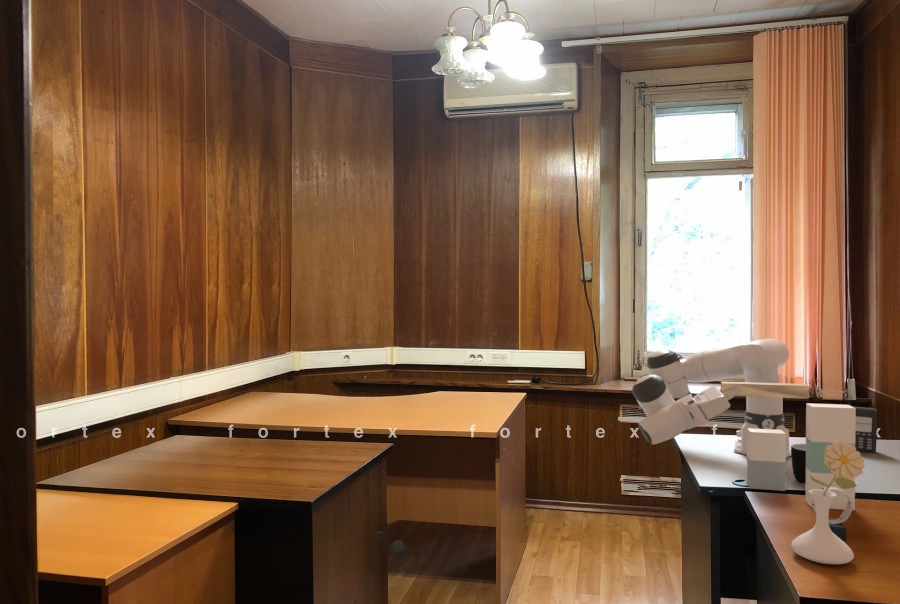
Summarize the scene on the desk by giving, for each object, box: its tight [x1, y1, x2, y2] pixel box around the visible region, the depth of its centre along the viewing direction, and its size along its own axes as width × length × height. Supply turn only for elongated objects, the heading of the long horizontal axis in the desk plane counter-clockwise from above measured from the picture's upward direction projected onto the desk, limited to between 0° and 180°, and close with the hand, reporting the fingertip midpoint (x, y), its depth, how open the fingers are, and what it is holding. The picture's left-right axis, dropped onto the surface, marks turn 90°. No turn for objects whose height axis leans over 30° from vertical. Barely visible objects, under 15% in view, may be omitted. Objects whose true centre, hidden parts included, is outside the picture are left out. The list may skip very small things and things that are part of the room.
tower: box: [805, 402, 856, 511], centre depth 167 cm, size 5×10×26 cm, turn 75°
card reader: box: [851, 405, 878, 454], centre depth 222 cm, size 9×4×15 cm, turn 57°
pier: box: [746, 428, 787, 492], centre depth 183 cm, size 5×9×16 cm, turn 75°
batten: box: [720, 381, 810, 399], centre depth 182 cm, size 4×22×4 cm, turn 75°
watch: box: [812, 487, 854, 543], centre depth 147 cm, size 6×8×11 cm
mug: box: [790, 443, 806, 485], centre depth 189 cm, size 12×9×10 cm
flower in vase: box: [790, 440, 865, 565], centre depth 134 cm, size 13×11×25 cm
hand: (737, 387), depth 184 cm, fingers closed on batten, 3 cm apart
